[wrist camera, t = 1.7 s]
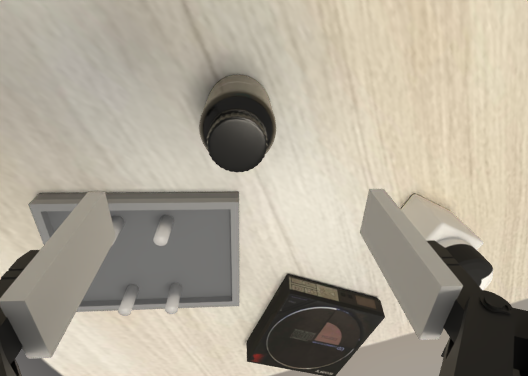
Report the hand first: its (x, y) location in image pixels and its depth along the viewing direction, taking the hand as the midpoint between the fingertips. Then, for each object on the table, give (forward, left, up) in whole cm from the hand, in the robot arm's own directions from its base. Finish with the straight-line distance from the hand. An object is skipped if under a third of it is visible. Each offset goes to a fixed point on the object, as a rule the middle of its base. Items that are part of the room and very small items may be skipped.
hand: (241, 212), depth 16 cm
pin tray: (-12, -20, -22) cm, 32 cm away
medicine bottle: (+25, -16, -22) cm, 37 cm away
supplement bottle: (0, 0, -22) cm, 22 cm away
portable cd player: (+12, -36, -22) cm, 44 cm away
